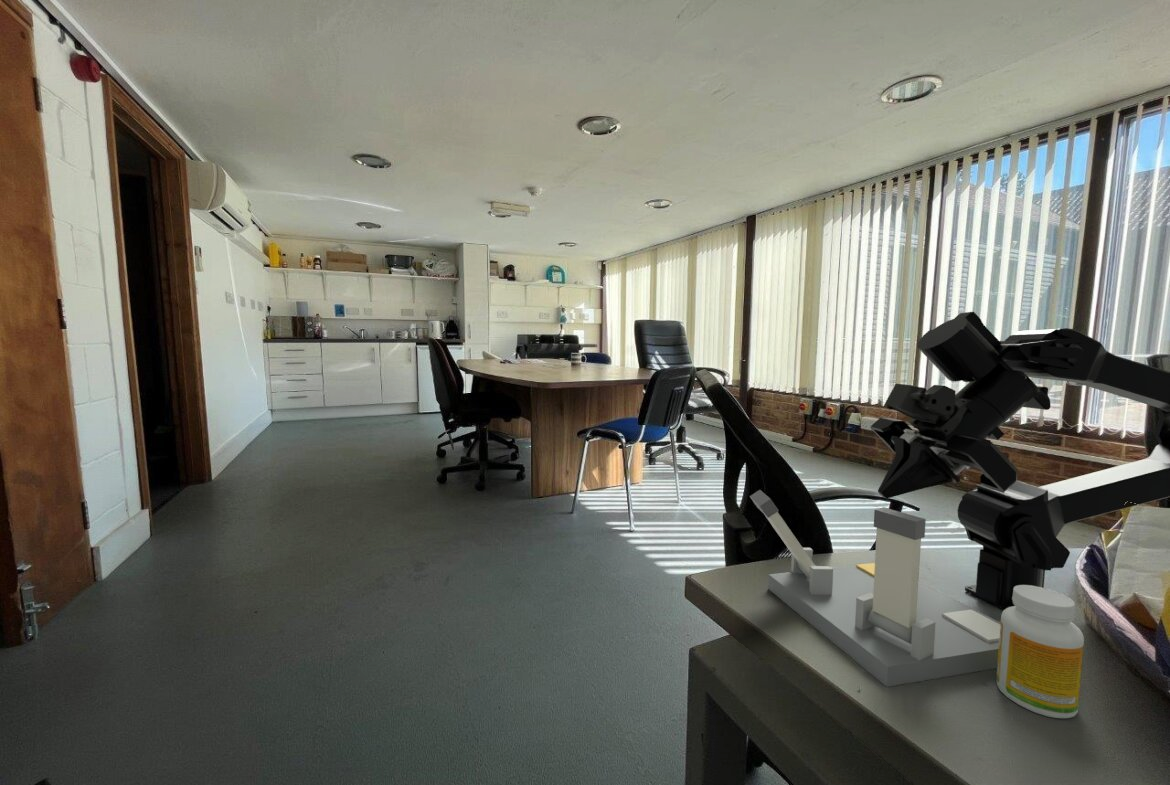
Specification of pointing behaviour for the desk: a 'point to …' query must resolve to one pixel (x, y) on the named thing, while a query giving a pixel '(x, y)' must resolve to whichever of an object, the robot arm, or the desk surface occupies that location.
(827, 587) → the grey base plate
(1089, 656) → the desk surface
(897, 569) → the switch
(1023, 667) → the supplement bottle
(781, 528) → the switch
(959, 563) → the desk surface
